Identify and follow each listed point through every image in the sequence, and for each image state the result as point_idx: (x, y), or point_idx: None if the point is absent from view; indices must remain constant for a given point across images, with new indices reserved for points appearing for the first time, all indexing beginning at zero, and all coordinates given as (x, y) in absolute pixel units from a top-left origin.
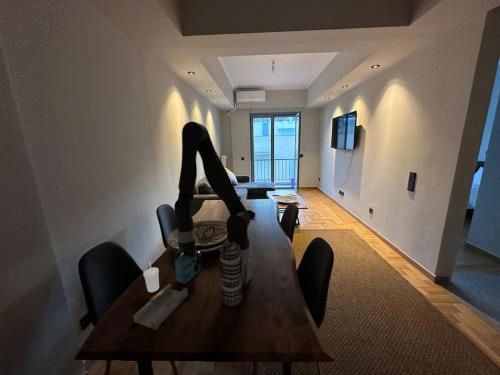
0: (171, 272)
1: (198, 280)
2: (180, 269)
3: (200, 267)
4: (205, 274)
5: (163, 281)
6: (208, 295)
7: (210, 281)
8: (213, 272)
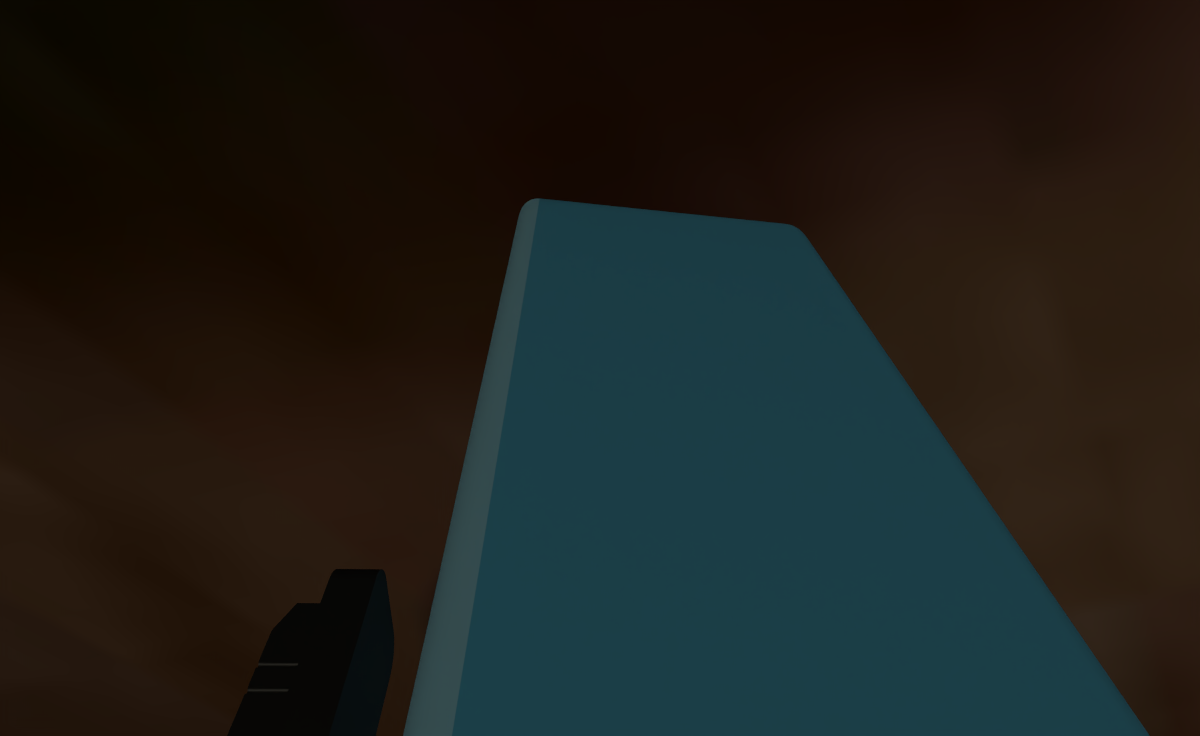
0: (99, 460)
1: None
2: None
3: (811, 244)
4: (973, 299)
5: (228, 674)
6: (1172, 705)
7: (1155, 464)
8: (1189, 161)
